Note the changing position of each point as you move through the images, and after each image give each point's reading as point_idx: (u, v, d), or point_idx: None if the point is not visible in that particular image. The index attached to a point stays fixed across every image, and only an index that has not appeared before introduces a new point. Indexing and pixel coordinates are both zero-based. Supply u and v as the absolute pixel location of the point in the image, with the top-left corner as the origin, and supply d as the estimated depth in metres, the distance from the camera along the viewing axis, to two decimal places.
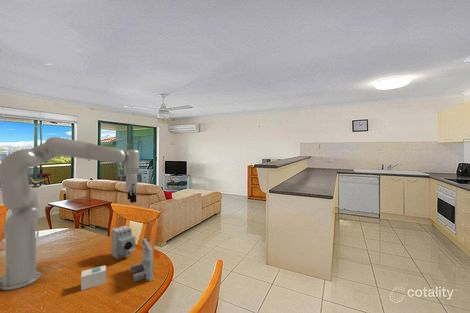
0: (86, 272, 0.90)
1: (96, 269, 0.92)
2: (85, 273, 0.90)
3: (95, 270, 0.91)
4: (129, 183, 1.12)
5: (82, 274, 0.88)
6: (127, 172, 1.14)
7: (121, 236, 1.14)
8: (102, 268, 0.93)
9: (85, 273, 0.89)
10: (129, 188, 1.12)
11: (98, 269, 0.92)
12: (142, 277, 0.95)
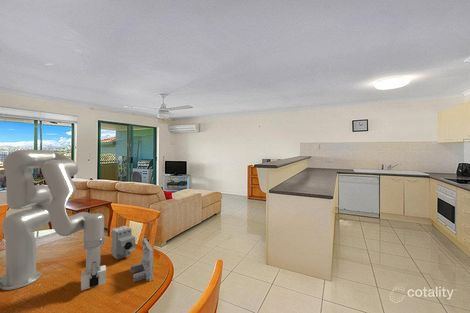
0: (86, 272, 0.90)
1: None
2: (85, 272, 0.89)
3: None
4: (88, 262, 0.86)
5: (82, 274, 0.88)
6: (86, 246, 0.88)
7: (121, 236, 1.14)
8: (102, 268, 0.93)
9: (85, 273, 0.89)
10: (88, 269, 0.86)
11: None
12: (142, 277, 0.95)
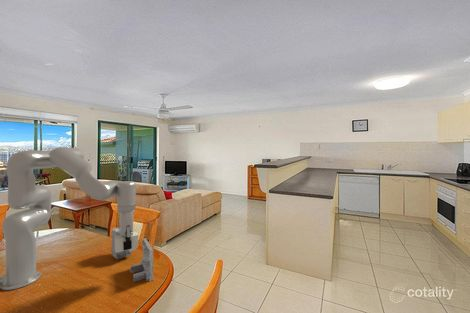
0: (120, 236, 0.94)
1: None
2: (119, 236, 0.93)
3: None
4: (123, 225, 0.90)
5: (116, 237, 0.92)
6: (120, 211, 0.91)
7: None
8: (134, 233, 0.97)
9: (119, 237, 0.93)
10: (123, 231, 0.90)
11: None
12: (142, 277, 0.95)
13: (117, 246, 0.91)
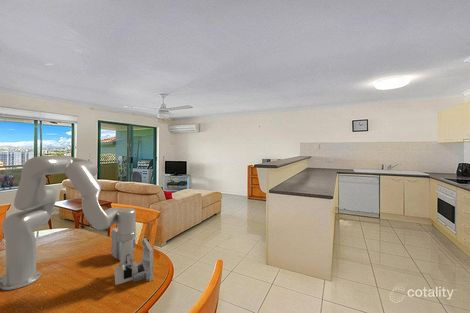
0: (119, 267, 0.94)
1: None
2: (118, 268, 0.93)
3: None
4: (123, 254, 0.90)
5: (116, 269, 0.92)
6: (120, 240, 0.91)
7: None
8: (133, 264, 0.97)
9: (119, 269, 0.93)
10: (123, 261, 0.90)
11: None
12: (142, 277, 0.95)
13: (117, 278, 0.91)
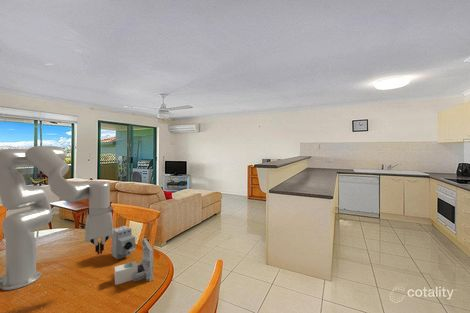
0: (119, 267, 0.94)
1: (128, 265, 0.96)
2: (118, 268, 0.93)
3: (127, 266, 0.95)
4: None
5: (116, 269, 0.92)
6: None
7: (121, 236, 1.14)
8: (133, 264, 0.97)
9: (118, 269, 0.93)
10: None
11: (130, 265, 0.96)
12: (142, 277, 0.95)
13: (116, 278, 0.91)
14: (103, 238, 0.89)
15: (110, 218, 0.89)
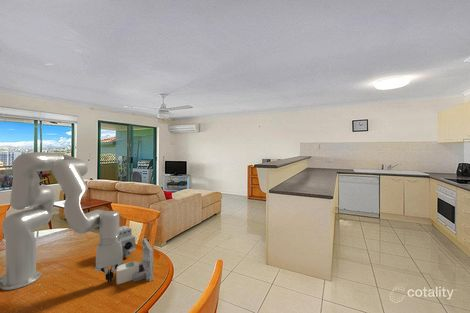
0: (121, 267, 0.94)
1: (129, 264, 0.96)
2: (120, 267, 0.94)
3: (129, 265, 0.95)
4: None
5: (117, 269, 0.93)
6: None
7: None
8: (135, 263, 0.97)
9: (120, 268, 0.93)
10: None
11: (131, 264, 0.96)
12: (142, 277, 0.95)
13: (118, 278, 0.91)
14: (113, 266, 0.91)
15: (120, 246, 0.92)
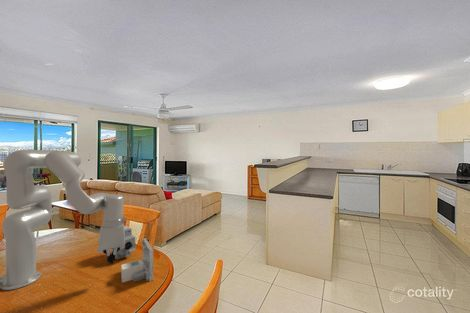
0: (126, 265, 0.96)
1: (134, 263, 0.97)
2: (125, 266, 0.95)
3: (134, 264, 0.97)
4: None
5: (122, 267, 0.94)
6: None
7: None
8: (139, 262, 0.99)
9: (125, 267, 0.95)
10: None
11: (136, 263, 0.97)
12: (142, 277, 0.95)
13: (123, 276, 0.93)
14: (115, 249, 0.92)
15: (123, 230, 0.93)
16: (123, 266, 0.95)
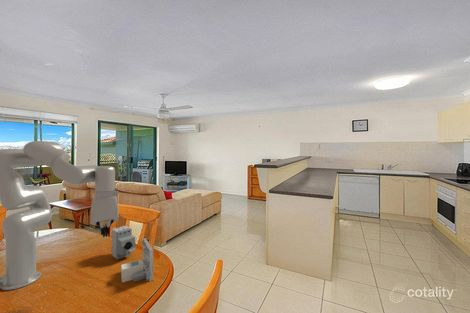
0: (126, 265, 0.96)
1: (134, 263, 0.97)
2: (125, 266, 0.95)
3: (133, 264, 0.97)
4: None
5: (122, 267, 0.94)
6: None
7: (121, 236, 1.14)
8: (139, 262, 0.99)
9: (125, 267, 0.95)
10: None
11: (136, 263, 0.97)
12: (142, 277, 0.95)
13: (123, 276, 0.93)
14: (108, 221, 0.90)
15: (115, 201, 0.90)
16: (123, 266, 0.95)
